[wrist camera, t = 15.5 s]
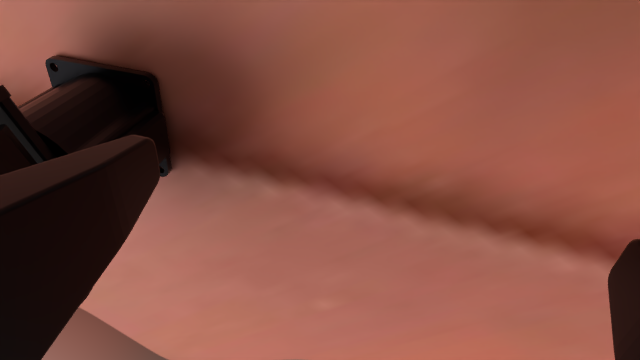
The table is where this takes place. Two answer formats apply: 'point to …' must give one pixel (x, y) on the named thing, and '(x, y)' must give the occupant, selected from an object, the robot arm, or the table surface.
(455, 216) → the table surface
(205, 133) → the table surface
